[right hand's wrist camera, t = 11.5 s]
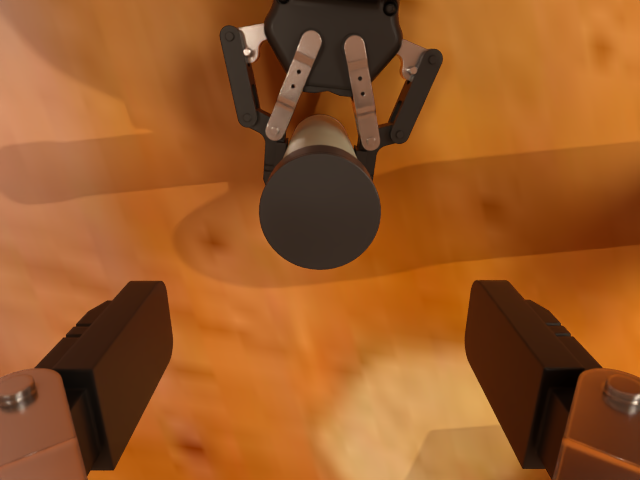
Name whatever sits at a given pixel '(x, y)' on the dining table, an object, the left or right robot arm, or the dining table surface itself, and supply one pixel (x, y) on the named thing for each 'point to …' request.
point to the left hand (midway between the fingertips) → (316, 196)
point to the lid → (319, 208)
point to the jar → (320, 134)
